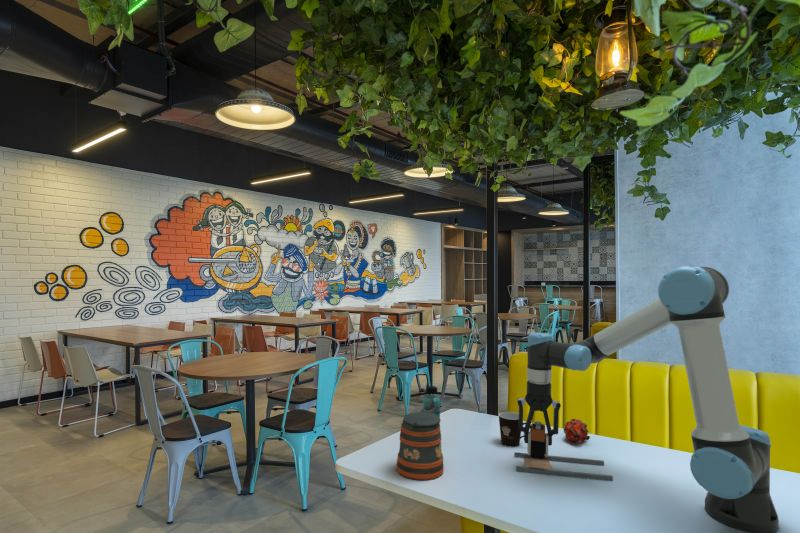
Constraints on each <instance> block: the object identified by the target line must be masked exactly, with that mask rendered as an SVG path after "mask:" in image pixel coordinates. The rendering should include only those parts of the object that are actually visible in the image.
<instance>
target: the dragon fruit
mask: <svg viewBox="0 0 800 533" xmlns="http://www.w3.org/2000/svg"><path fill="white" fill-rule="evenodd" d="M587 427H588V425H587V424H586V423H585V422H583V420H581V419H579V418H578V419H576V418H571V419H570V420H569V421H567V422H565V424H564V429H563V433H564V435H565V438H566V439H568V441H569V443H571V444H573V445H575V444H577V443H579V444H581V443H584V442H585V441H588V440H590V438H591V436H590V435H589V429H588V428H587Z"/></svg>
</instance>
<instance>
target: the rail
mask: <svg viewBox="0 0 800 533" xmlns="http://www.w3.org/2000/svg"><path fill="white" fill-rule="evenodd" d="M513 453H514V454H513V455H514V458H519V457H520V459H522V458H523V462H524V466H520V465H516V466H515V471H516V472H520V473H530V474H540V475H541V474H542V475H549V476H550V475H551V476H559V477H560V476H562V477H570V478H579V477H580V478H581V479H588V478H589V479H591V480H601V481H609V482H613V481H614V476H613V475H611V474H601V473H592V472H591V473H589V472H582V471H581V472H580V471H570V470H561V469H552V465H551V462H562V463H571V464H582V465H592V466H593V465H594V466H602V467H603V466H605V461H604V460H602V459H601V460H600V459H592V458H591V459H590V458H581V457H580V458H577V457H568V456H557V455H548V457H546V456H545V459H536V458H531V456H530V455H528V452H527V453H524V452H513ZM550 461H551V462H550Z"/></svg>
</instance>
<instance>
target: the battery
mask: <svg viewBox="0 0 800 533" xmlns="http://www.w3.org/2000/svg"><path fill="white" fill-rule="evenodd" d="M545 433H546V424H544V423H542V422H541V421H540V420H539V421H537V420H535V422H531V451H530V456H531V458H536V459H545Z"/></svg>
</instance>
